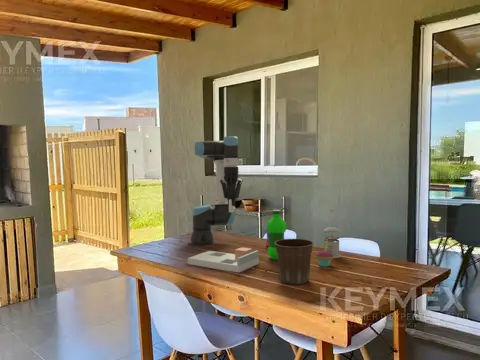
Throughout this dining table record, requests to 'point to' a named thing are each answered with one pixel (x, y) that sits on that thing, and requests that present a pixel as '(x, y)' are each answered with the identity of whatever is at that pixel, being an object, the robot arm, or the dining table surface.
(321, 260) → the cupcake
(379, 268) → the dining table surface
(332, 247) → the french press
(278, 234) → the plastic bottle
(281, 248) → the plant pot
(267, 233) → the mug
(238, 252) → the block
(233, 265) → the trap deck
